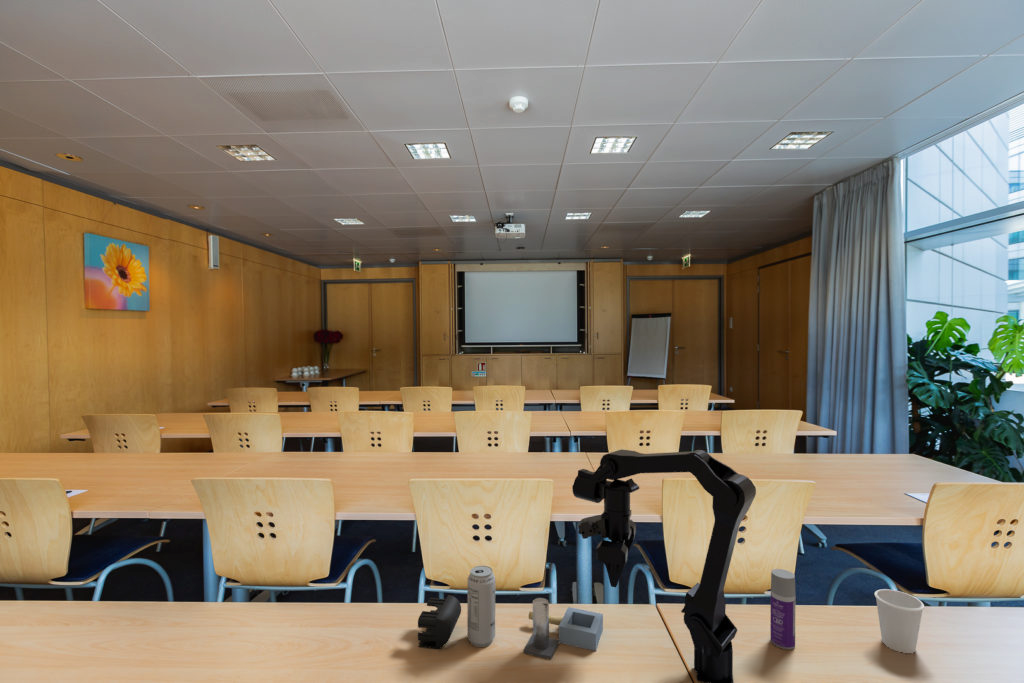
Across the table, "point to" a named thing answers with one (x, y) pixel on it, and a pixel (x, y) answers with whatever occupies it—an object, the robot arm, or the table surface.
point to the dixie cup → (899, 619)
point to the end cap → (438, 622)
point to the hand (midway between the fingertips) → (616, 577)
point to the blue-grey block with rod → (578, 627)
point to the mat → (541, 653)
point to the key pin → (540, 623)
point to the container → (783, 608)
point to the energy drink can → (481, 606)
